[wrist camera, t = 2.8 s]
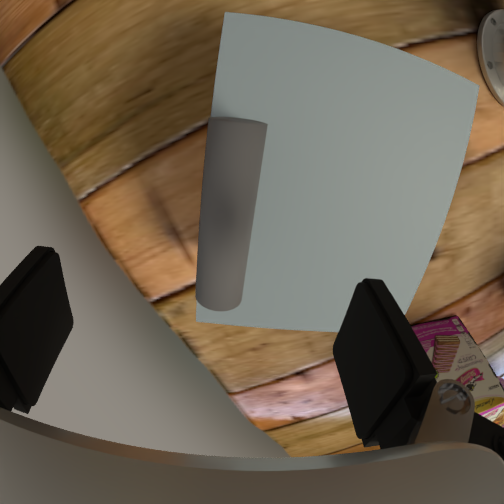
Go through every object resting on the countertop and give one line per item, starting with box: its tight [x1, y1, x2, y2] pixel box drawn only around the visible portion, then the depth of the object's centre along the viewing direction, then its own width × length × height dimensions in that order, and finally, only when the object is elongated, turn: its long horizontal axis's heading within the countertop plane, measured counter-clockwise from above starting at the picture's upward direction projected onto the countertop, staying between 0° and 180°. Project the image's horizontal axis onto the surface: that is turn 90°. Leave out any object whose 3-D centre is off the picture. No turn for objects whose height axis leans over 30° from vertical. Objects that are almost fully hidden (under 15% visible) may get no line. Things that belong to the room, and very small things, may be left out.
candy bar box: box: [411, 316, 504, 421], centre depth 32 cm, size 11×5×16 cm, turn 96°
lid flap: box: [196, 12, 479, 332], centre depth 16 cm, size 20×16×6 cm
